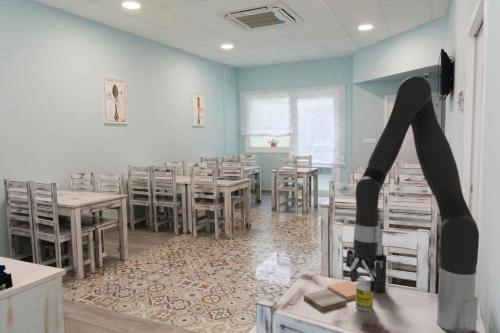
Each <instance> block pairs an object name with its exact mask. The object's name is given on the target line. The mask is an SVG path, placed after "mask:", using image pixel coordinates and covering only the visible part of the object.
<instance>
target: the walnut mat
mask: <svg viewBox="0 0 500 333" xmlns="http://www.w3.org/2000/svg"><path fill="white" fill-rule="evenodd" d="M303 300H305V301H306V302H307V303H309V304H311V305H312V306H314V307H315V308H317V309H318V310H320V311H321V312H326V311H329V310H332V309H336V308H338V307H339V308H340V307H342V306H346V305H347V301H346V300H345V299H343V298H342V297H340V296H338V295H336V294H335V293H333V292H331V291H329V290H328V289H327V288H326V289H321V290H318V291H314V292H309V293H304V294H303Z"/></svg>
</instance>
